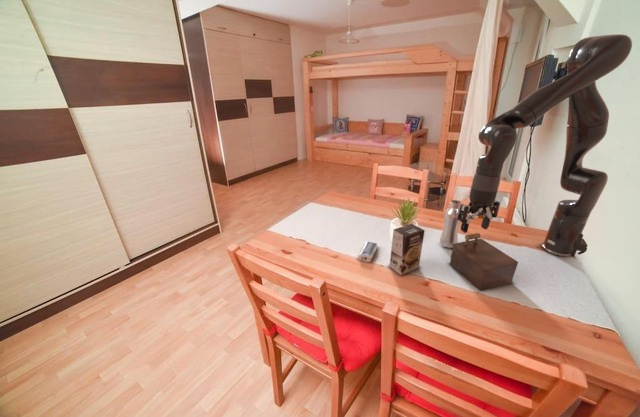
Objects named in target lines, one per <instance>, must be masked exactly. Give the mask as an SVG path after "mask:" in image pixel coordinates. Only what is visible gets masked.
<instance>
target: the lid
mask: <svg viewBox="0 0 640 417" xmlns="http://www.w3.org/2000/svg"><path fill="white" fill-rule="evenodd" d="M464 240H465V241H460V242H457V243H454V244H452V246H453V247H455V248H456V249H457V250H459V251H460V252H461V253H463V254H464V255H465V256H467V257H468V258H469V259H471V260H472V261H473V262H475V263H476V264H477V265H479V266H480V267H481V268H483V269H484V270H485V271H487V270H491V269H496V268H500V267H505V266H509V265H514V264H519V261H518V260H516V259H515V258H513V257H511V256H510V255H509V254H506V253H505V252H503V251H501V250H500V249H498V248H497V247H495V246H494V245H492V244H491V243H489V242H487V241H486V240H484V239H483V238H481V234H480V233H479V232H476V233H469V234H465V235H464Z"/></svg>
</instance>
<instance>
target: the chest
mask: <svg viewBox="0 0 640 417" xmlns="http://www.w3.org/2000/svg"><path fill="white" fill-rule="evenodd" d="M518 264H519V263H518ZM518 264H514V265H509V266H505V267H500V268H496V269H491V270H487V271H485V270H484V269H483V268H481V267H480V266H479V265H477V264H476V263H475V262H473V261H472V260H471V259H469V258H468V257H467V256H465V255H464V254H463V253H461V252H460V251H459V250H457V249H456V248H455V247H453V248H452V251H451V255H450V262H449V265H450V266H451V267H452V268H453V269H455V271H457V272H458V273H459V274H460V275H462V276H463V277H464V278H465V279H467V280H468V282H470V283H471V284H472V285H474V287H476V288H477V289H478V290H479V291H482V290H486V289H490V288H494V287H500V286H503V285H504V286H505V285H508V284H511V283H513V280H514V277H515V273H516V271H517V267H518Z"/></svg>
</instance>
